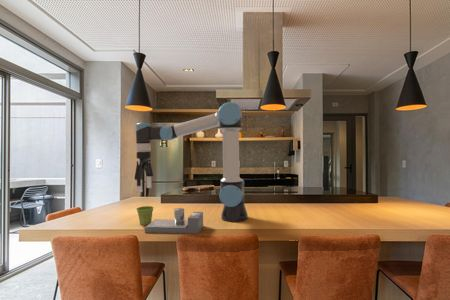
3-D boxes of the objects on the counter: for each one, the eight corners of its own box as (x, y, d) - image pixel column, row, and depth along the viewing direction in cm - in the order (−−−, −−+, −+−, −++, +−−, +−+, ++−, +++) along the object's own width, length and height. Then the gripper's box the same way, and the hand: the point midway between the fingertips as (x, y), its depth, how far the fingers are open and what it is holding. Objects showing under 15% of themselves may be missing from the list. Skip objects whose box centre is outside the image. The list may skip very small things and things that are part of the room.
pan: (191, 221, 165) (191, 219, 165) (186, 227, 153) (186, 226, 153) (155, 220, 168) (155, 219, 168) (147, 227, 156) (147, 225, 156)
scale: (203, 226, 165) (202, 210, 165) (198, 233, 152) (197, 217, 152) (154, 225, 168) (153, 210, 168) (145, 232, 156) (144, 216, 155)
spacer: (181, 220, 163) (181, 207, 163) (186, 222, 159) (185, 209, 159) (173, 222, 160) (172, 209, 160) (177, 224, 156) (177, 210, 156)
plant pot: (151, 225, 167) (151, 209, 167) (134, 226, 168) (134, 210, 167) (156, 221, 177) (155, 205, 176) (139, 221, 177) (139, 206, 177)
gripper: (145, 150, 183) (146, 186, 184) (127, 152, 159) (128, 193, 159) (157, 150, 182) (158, 186, 183) (141, 152, 158) (142, 194, 158)
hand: (144, 189), depth 171 cm, fingers open, 13 cm apart
